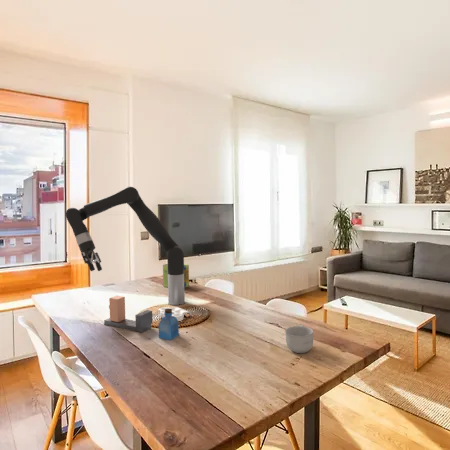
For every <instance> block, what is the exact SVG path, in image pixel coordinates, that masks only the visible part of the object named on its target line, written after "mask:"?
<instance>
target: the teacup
mask: <svg viewBox="0 0 450 450" xmlns="http://www.w3.org/2000/svg"><path fill="white" fill-rule="evenodd" d="M284 331H285V332H284V333H285V343H286V347H288V349H289V350H291V351H292V352H293V353H296V354H297V353H298V354H306V353H307V352H309V351H310V350H311V349H312V348H313V346H314V330H313V329H312V328H310V327H308V326H305V325H304V324H300V325H295V326H288V328H286V329H285V330H284Z"/></svg>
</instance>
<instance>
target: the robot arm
mask: <svg viewBox="0 0 450 450" xmlns="http://www.w3.org/2000/svg"><path fill="white" fill-rule="evenodd" d="M125 204H126V205H128V206H129V207H130V209H132V210H133V211H134V213H135V214H136V216H137V217H138V219H139V221H140V223H141V224H142V226H143V228H144V229H145V230H146V231H147V232H148V234H149V235H151V237H152V238H153V239H154V240H155V241H156V242H158V243H159V245H161V247H162V248H163V250H164V252H165V253H166V255H167V256H166V257H167V264H168V287H167V289H168V290H167V293H168V302H167V303H168V304H169V305H170V306H171V305H172V306H179V304H180V305H182V304H183V305H184V303H186V299H185V298H186V297H185V295H186V294H185V289H186V288H184V264H185V256H184V255H185V254H184V250H183V248H182V247H180V246H179V244H177V242H176V241H175V240H174V239H173V238H172V236H171V235H170V234H169V232H168V230H167V229H166V227H165V225H164V224H163V223H162V221H161V220H160V218H159V217H158V216H157V215H156V214H155V212H153V211H152V210H151V209H150V208H149V207H148V206H147V205H146V204H145V201H144V199H143V198H142V197H141V196H140V194H139V191H138V189H137V188H135V187H134V186H127V187H125V188H123V189H122V190H120V191H118V192H116V193H114V194H112V195H109V196H107V197H103V198H100V199H97V200H94V201H91V202H88V203H85V204H84V205H83V207H82V208H79V209H78V208H75V207H69V208H67V210H66V211H65V219H66V220H67V222H68V224H69V225H70V227H71V229H72V232H73V235H74V237H75V240H76V244H77V246H78V248H79V250H80V254H81V257H82V259H83V262H84V264H86V265H87V266H88V268H89V270H90V272H94V271H95V270H96V269H97V271H98V272H101V271H102V270H103V268H102V265H101V263H102V260H101V258H100V255H99V253H98V252H95V249H96V246H95V243H94V240H93V238H92V235H91V234H90V232H89V229H88V228H87V226H86V224H85V223H84V221H85V220H86V219H88V218H90V217H93V216H95V215H99V214H100V213H103V212H106V211H108V210H110V209H112V208H114V207H117V206H120V205H125ZM94 265H95V266H94ZM95 267H96V268H95Z"/></svg>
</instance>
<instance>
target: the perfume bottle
mask: <svg viewBox="0 0 450 450" xmlns="http://www.w3.org/2000/svg"><path fill="white" fill-rule="evenodd" d="M164 315H165V317H163V318H162V319H161V318H160V321H159V322H158V338H159V339H163V340H168V341H172V340H173V339H176V338H177V337H178V336H179V334H180V333H179V331H180V330H179V329H180V328H179V327H180V326H179V323H180V322H178V320H177V319H176V317H175V316H172V309H165V312H164Z"/></svg>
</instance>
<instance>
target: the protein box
mask: <svg viewBox="0 0 450 450" xmlns="http://www.w3.org/2000/svg"><path fill="white" fill-rule="evenodd" d="M189 266H190V264H188V263H187V264H186V263H184V289H186V288H189V287H190V268H189ZM162 286H163V287H164V288H168V263H165V264H163V265H162Z"/></svg>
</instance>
